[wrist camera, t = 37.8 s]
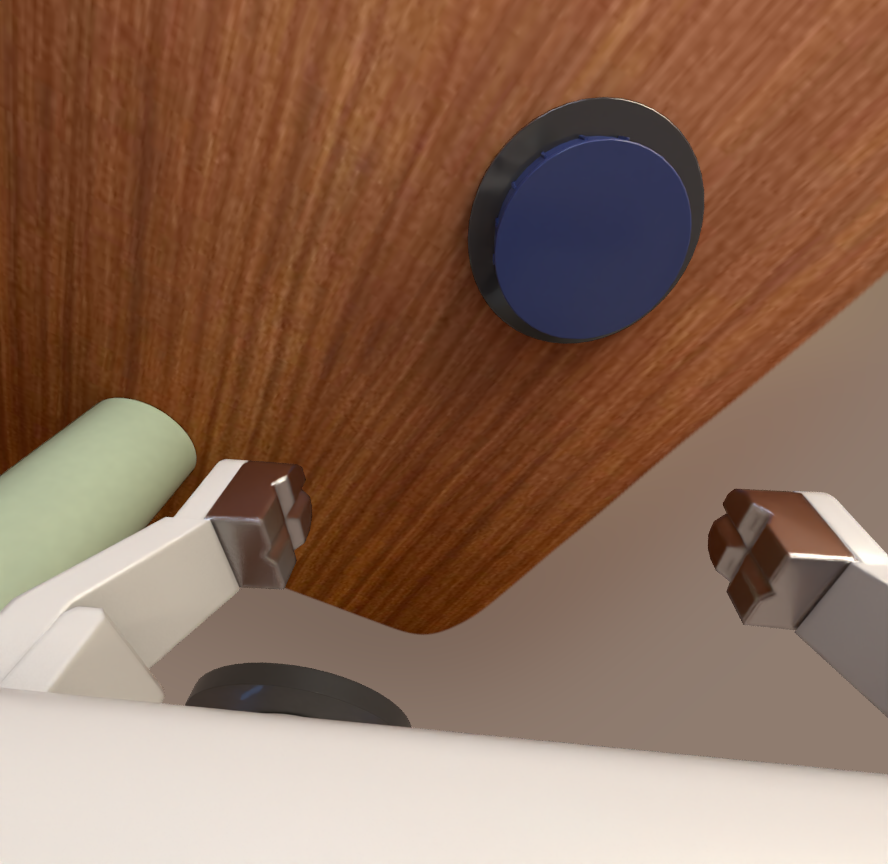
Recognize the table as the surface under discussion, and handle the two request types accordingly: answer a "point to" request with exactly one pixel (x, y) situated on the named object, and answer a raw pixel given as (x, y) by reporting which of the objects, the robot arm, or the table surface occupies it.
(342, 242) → the table surface
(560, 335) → the lid
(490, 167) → the coaster
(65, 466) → the jar
